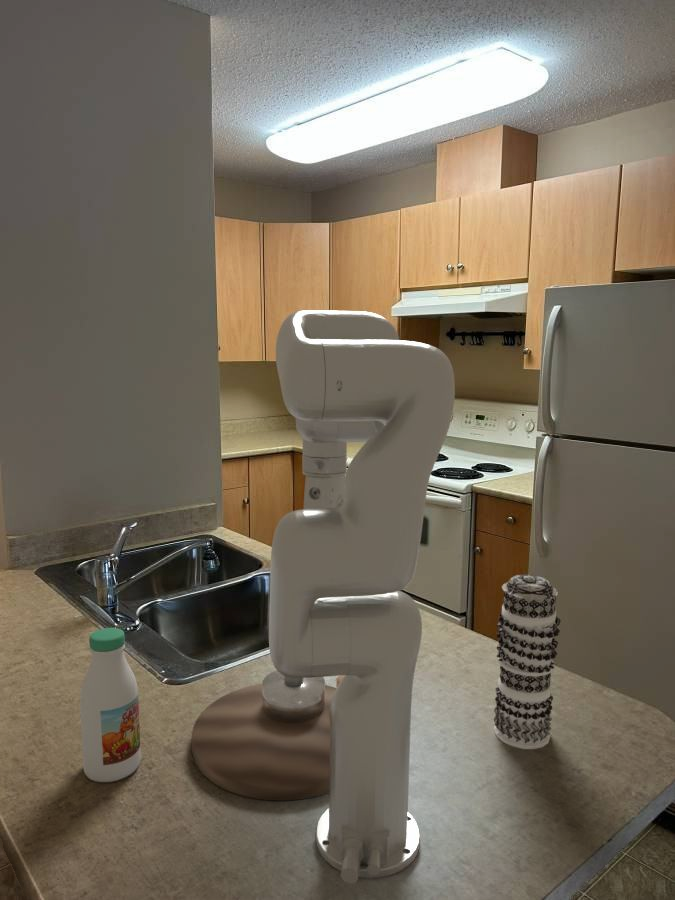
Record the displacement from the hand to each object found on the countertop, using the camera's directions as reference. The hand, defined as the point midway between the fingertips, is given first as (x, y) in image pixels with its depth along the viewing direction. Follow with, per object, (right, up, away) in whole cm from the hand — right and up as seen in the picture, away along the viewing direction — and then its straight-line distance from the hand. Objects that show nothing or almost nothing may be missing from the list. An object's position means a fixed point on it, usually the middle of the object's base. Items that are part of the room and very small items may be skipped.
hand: (323, 561), depth 116 cm
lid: (-5, -22, -9) cm, 24 cm away
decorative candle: (+31, -25, -12) cm, 42 cm away
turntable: (-5, -25, -15) cm, 29 cm away
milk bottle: (-29, -26, -22) cm, 45 cm away
